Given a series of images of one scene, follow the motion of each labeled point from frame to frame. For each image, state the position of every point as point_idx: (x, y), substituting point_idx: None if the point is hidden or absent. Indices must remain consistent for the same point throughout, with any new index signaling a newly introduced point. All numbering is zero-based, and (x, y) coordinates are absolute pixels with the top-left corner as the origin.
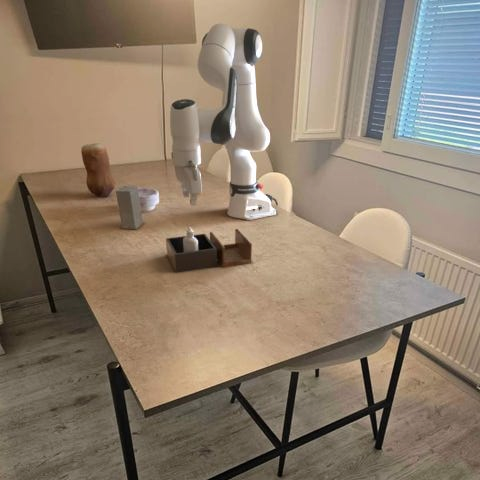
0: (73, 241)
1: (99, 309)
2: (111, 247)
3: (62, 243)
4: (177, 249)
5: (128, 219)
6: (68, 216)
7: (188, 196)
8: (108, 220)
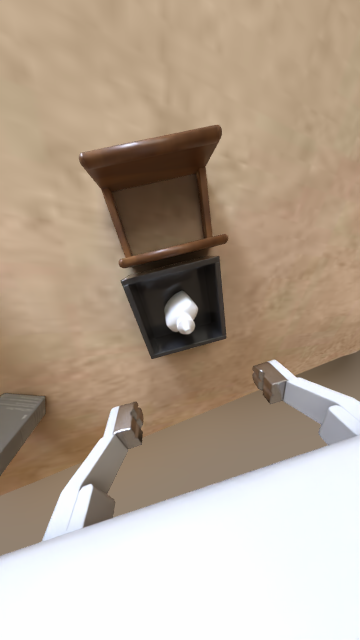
0: None
1: None
2: None
3: None
4: (150, 329)
5: (32, 421)
6: (15, 472)
7: (136, 402)
8: None
